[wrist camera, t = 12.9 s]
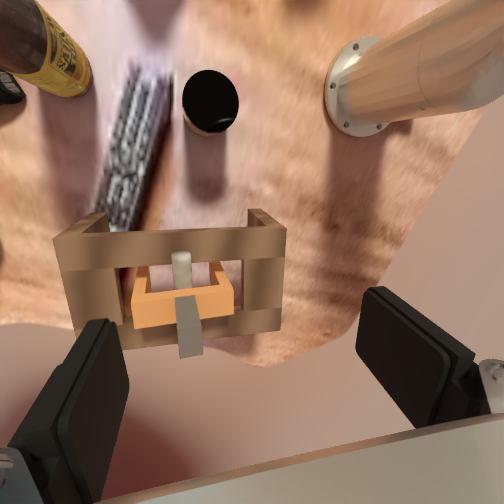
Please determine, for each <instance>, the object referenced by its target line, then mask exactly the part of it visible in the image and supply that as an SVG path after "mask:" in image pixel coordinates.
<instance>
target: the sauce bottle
mask: <svg viewBox="0 0 504 504" xmlns="http://www.w3.org/2000/svg"><path fill="white" fill-rule="evenodd" d="M0 69H2V70H4V71H6V72H8V73H10V74H12V75H14V76H17V77H19V78H21V79H23V80H25V81H27V82H29V83H31V84H33V85H35V86H37V87H39V88H41V89H43V90H45V91H47V92H49V93H51V94H54V95H57V96H60V97H65V98H76V97H80V96H82V95H84V94H85V93H86V92H87V91H88V89H89V87H90V86H91V83H92V69H91V67H90V63H89V61H88V59H87V57H86V55H85V53H84V51H83V50H82V49H81V47H80V46H79V45H78V44H77V43H76V42H75V41H74V40H73V39H72V38H71V37H70V36H69V35H68V34H67V33H66V32H65V30H64V29H63V28H62V27H61V26H60V25H59V24H58V23H57V22H56V21H55V20H54V19H53V18H52V17H51V16H50V15H49V14H48V13H47V12H46V11H45V10H44V9H43V8H42V7H41V6H40V4H39V3H38V2H37V1H36V0H0Z"/></svg>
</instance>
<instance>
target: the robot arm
mask: <svg viewBox="0 0 504 504" xmlns="http://www.w3.org/2000/svg"><path fill="white" fill-rule="evenodd" d="M353 49H354V50H353ZM330 86H331V88H330ZM502 95H504V0H451V1H449V2H447V3H445V4H443V5H442V6H440V7H438V8H436V9H435V10H433V11H431V12H429V13H428V14H426V15H424V16H422V17H420V18H419V19H417V20H415V21H413V22H412V23H410V24H408V25H406V26H405V27H403V28H401V29H399V30H398V31H396V32H394V33H392V34H390V35H389V36H387V37H385V38H382V37H378V36H365V37H361V38H358V39H356V40H355V41H353V42H351V43H350V44H348V45H347V46H345V47H344V48H343V49H342V50H341V51H340V52H339V53H338V55H337V56H336V57H335V59H334V60H333V62H332V64H331V66H330V68H329V71H328V74H327V77H326V82H325V104H326V109H327V111H328V114H329V117H330V118H331V120H332V122H333V123H334V125H335V126H336V127H337V128H338V129H339V130H341V131H342V132H343V133H345V134H347V135H350V136H354V137H366V136H371V135H374V134H376V133H379V132H380V131H382V130H383V129H385V128H386V127H387V126H388V125H389V124H390V123H391V122H394V121H401V120H408V119H415V118H422V117H429V116H437V115H444V114H451V113H458V112H465V111H469V110H474V109H477V108H480V107H482V106H485V105H487V104H489V103H491V102H493V101H494V100H496V99H498V98H499V97H501V96H502ZM355 347H356V352H357V354H358V356H359V357H360V358H361V359H362V361H363V362H364V363H365V364H366V366H367V367H368V368H369V369H370V371H371V372H372V373H373V375H374V376H375V377H376V379H377V380H378V381H379V382H380V384H381V385H382V386H383V388H384V389H385V390H386V391H387V393H388V394H389V395H390V397H391V398H392V399H393V400H394V402H395V403H396V404H397V405H398V407H399V408H400V409H401V411H402V412H403V413H404V414H405V416H406V417H407V418H408V420H409V421H410V422H411V423H412V425H413V426H414V427H415V428H416V429H413V430H409V431H404V432H399V433H395V434H390V435H385V436H381V437H376V438H372V439H367V440H362V441H358V442H354V443H349V444H344V445H340V446H335V447H331V448H326V449H322V450H317V451H313V452H308V453H304V454H299V455H295V456H291V457H286V458H281V459H277V460H272V461H268V462H263V463H259V464H255V465H250V466H246V467H242V468H237V469H233V470H229V471H225V472H220V473H215V474H211V475H207V476H202V477H198V478H193V479H189V480H185V481H180V482H176V483H172V484H168V485H164V486H160V487H156V488H152V489H147V490H144V491H140V492H135V493H131V494H127V495H123V496H120V497H115V498H111V499H107V500H104V501H100V499H101V496H102V492H103V488H104V485H105V481H106V477H107V473H108V469H109V466H110V462H111V458H112V454H113V450H114V447H115V442H116V439H117V435H118V431H119V427H120V423H121V420H122V416H123V412H124V409H125V405H126V401H127V397H128V393H129V378H128V374H127V370H126V365H125V361H124V357H123V353H122V348H121V344H120V339H119V335H118V331H117V326H116V323H115V322H114V321H113V322H110V320H109V319H108V318H102V319H93V320H89V321H88V322H87V323H86V325H85V327H84V328H83V330H82V332H81V333H80V335H79V337H78V338H77V340H76V342H75V344H74V345H73V347H72V348H71V350H70V352H69V353H68V355H67V357H66V359H65V360H64V362H63V363H62V364H60V365H58V366H57V367H56V369H55V370H54V371H53V373H52V374H51V376H50V378H49V379H48V381H47V382H46V384H45V386H44V387H43V389H42V391H41V392H40V394H39V396H38V397H37V399H36V400H35V402H34V403H33V405H32V407H31V408H30V410H29V411H28V413H27V415H26V416H25V418H24V420H23V421H22V423H21V424H20V426H19V428H18V429H17V431H16V433H15V434H14V436H13V437H12V439H11V441H10V442H9V444H8V445H7V447H0V504H504V361H502V360H496V359H486V360H482V361H481V362H480V363H479V365H477V364H476V363H475V362H473V360H474V357H475V355H476V354H475V353H474V352H472V351H471V350H470V349H468V348H467V347H466V346H464V345H463V344H462V343H460V342H459V341H458V340H456V339H455V338H454V337H452V336H451V335H450V334H448V333H447V332H445V331H444V330H443V329H441V328H440V327H438V326H437V325H436V324H435V323H433V322H432V321H430V320H429V319H428V318H427V317H425V316H424V315H422V314H421V313H420V312H418V311H417V310H416V309H414V308H413V307H412V306H410V305H409V304H408V303H406V302H405V301H404V300H402V299H401V298H399V297H398V296H397V295H395V294H394V293H393V292H391V291H390V290H389V289H387V288H386V287H384V286H378V287H370V288H368V289H367V291H366V292H364V294H363V299H362V306H361V312H360V319H359V326H358V332H357V339H356V346H355Z"/></svg>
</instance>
